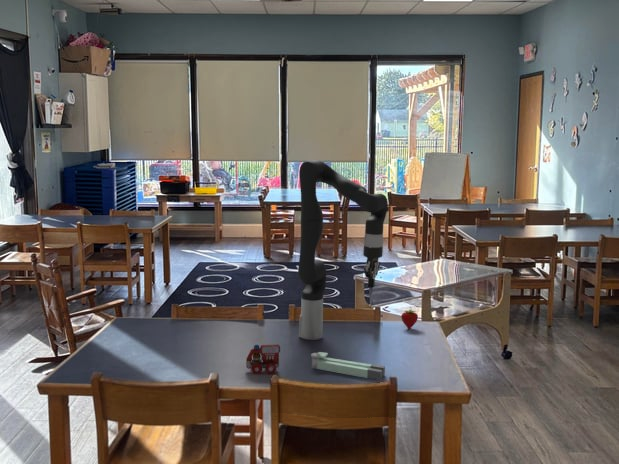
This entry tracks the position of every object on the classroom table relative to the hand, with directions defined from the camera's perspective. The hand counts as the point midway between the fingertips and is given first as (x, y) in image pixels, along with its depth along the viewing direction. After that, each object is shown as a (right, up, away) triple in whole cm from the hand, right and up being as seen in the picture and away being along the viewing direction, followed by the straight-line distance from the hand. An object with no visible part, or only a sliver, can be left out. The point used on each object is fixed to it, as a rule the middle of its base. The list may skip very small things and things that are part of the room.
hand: (371, 287), depth 279 cm
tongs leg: (-11, -30, -19) cm, 37 cm away
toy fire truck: (-42, -30, -18) cm, 54 cm away
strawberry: (+20, -21, +36) cm, 46 cm away
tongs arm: (-11, -30, -17) cm, 36 cm away
